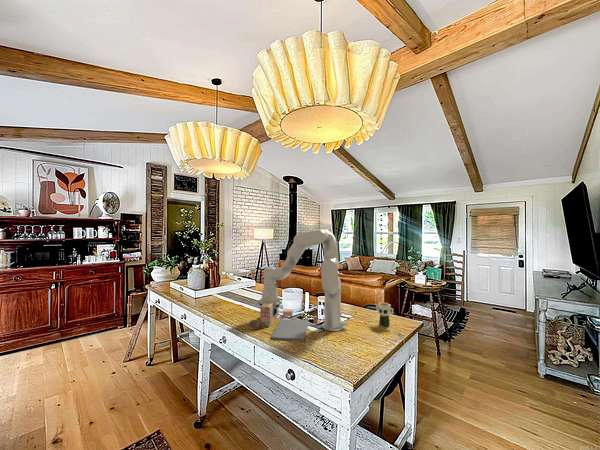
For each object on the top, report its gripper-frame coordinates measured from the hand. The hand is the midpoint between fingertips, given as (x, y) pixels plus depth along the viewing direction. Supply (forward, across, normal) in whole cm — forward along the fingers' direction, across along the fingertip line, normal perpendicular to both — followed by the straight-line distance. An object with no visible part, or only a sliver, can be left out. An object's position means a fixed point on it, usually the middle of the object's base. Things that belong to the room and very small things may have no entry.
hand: (269, 314), depth 169 cm
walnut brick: (+5, +6, +12) cm, 14 cm away
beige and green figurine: (+4, -72, -2) cm, 72 cm away
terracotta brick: (+5, -10, -10) cm, 15 cm away
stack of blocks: (+5, 0, -1) cm, 5 cm away
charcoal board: (+4, -16, +13) cm, 21 cm away
